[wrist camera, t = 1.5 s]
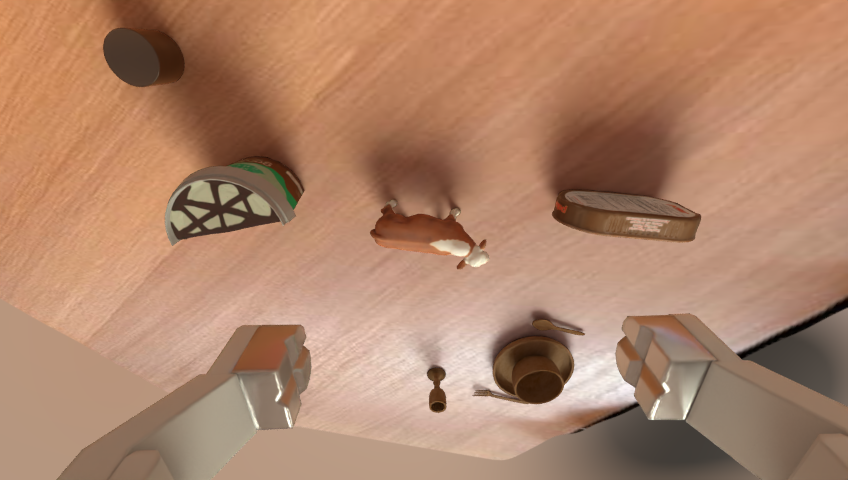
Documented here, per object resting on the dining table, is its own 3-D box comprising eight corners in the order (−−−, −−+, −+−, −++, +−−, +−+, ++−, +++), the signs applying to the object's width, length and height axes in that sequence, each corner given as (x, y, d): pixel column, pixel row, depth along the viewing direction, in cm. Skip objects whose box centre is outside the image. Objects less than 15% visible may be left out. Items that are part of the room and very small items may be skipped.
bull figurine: (478, 244, 47) (489, 280, 40) (374, 222, 45) (364, 256, 38) (489, 213, 45) (502, 245, 38) (380, 189, 43) (371, 218, 36)
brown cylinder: (126, 30, 36) (93, 28, 32) (175, 29, 36) (148, 27, 32) (144, 83, 38) (115, 87, 34) (190, 83, 38) (167, 86, 34)
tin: (542, 206, 44) (566, 238, 37) (548, 181, 43) (575, 209, 35) (663, 217, 45) (710, 251, 38) (673, 193, 44) (725, 223, 36)
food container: (298, 135, 40) (263, 160, 32) (316, 188, 43) (289, 224, 34) (194, 156, 41) (131, 186, 33) (218, 206, 44) (166, 246, 35)
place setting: (538, 408, 61) (549, 442, 56) (423, 380, 58) (423, 413, 53) (594, 330, 53) (612, 361, 48) (465, 293, 50) (470, 322, 45)
